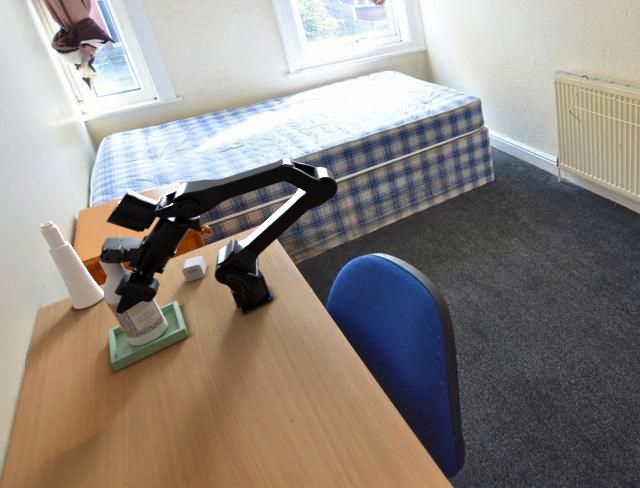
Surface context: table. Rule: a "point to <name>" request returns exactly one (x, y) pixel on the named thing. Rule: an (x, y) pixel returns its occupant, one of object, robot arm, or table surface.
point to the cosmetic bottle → (71, 269)
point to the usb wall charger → (194, 268)
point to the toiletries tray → (128, 353)
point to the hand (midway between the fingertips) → (123, 301)
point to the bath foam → (133, 310)
